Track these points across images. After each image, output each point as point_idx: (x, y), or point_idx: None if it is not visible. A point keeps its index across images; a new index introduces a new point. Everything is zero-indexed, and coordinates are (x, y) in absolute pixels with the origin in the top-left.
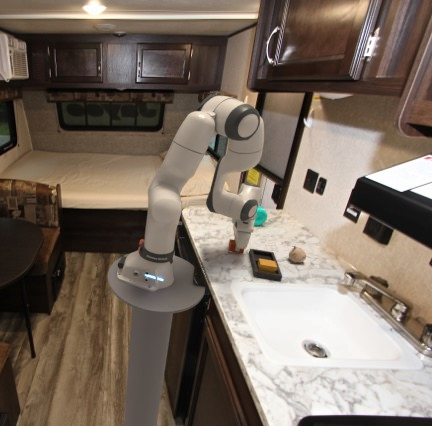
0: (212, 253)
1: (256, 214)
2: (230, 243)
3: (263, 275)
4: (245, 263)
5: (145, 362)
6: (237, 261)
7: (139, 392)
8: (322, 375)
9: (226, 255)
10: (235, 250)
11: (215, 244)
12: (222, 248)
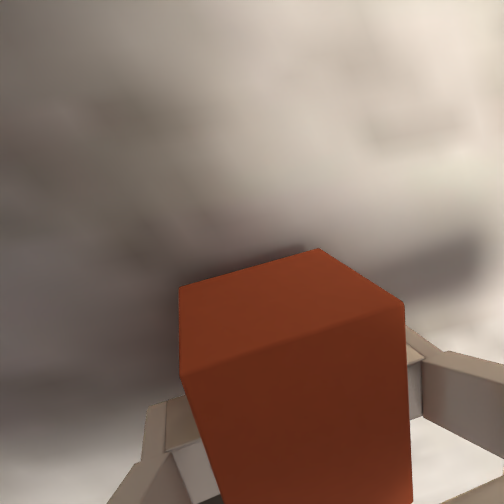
0: (8, 43)
1: None
2: (218, 355)
3: None
4: (63, 480)
5: None
6: (43, 409)
7: None
8: None
9: (105, 264)
10: (149, 410)
11: (342, 54)
12: (273, 175)
